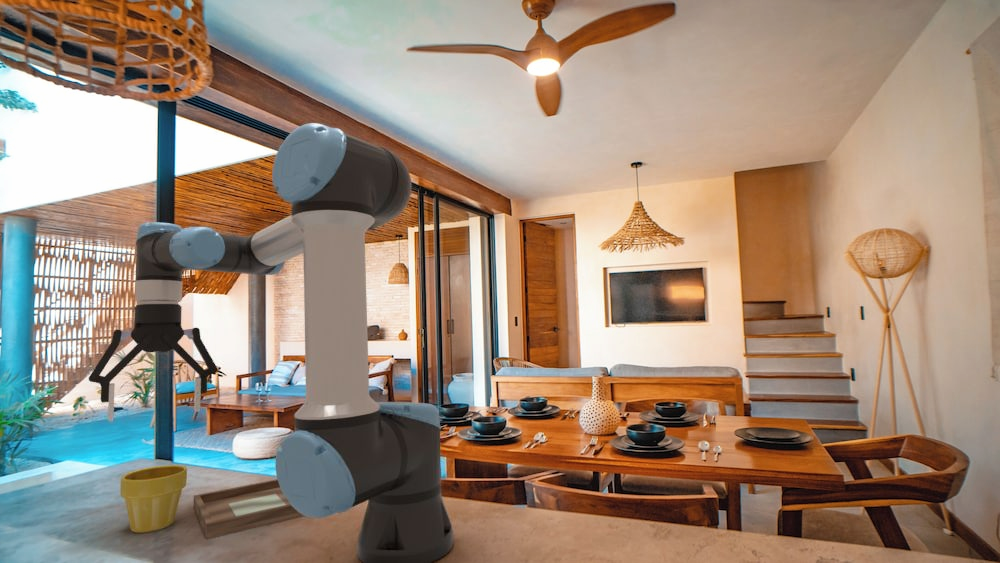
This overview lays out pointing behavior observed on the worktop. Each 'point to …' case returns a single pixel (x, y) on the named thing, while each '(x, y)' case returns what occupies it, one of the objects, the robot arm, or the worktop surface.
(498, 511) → the worktop surface
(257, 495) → the walnut tray
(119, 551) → the worktop surface
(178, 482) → the plant pot
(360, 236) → the robot arm
